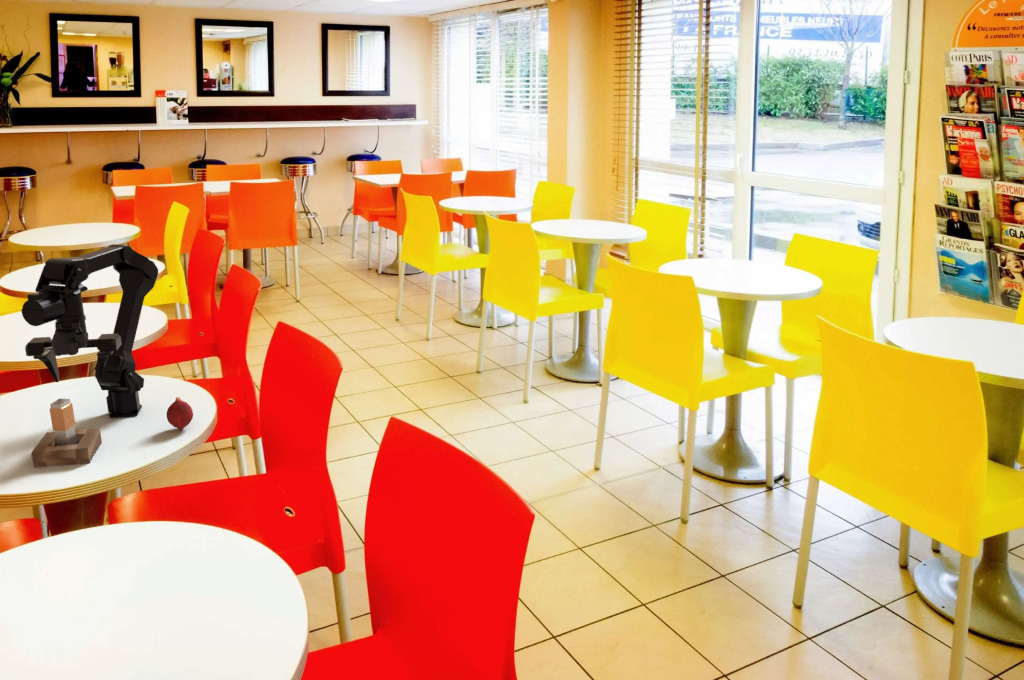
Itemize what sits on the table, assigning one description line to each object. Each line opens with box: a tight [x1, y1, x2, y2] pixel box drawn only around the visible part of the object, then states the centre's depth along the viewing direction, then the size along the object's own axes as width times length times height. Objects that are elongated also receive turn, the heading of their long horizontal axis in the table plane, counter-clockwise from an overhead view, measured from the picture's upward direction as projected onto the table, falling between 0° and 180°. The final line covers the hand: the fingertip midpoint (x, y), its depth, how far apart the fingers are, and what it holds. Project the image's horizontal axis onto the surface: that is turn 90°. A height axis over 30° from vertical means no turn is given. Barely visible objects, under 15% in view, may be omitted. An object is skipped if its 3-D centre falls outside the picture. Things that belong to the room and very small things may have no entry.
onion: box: [166, 396, 194, 430], centre depth 199 cm, size 6×6×8 cm
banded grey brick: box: [49, 398, 77, 446], centre depth 185 cm, size 4×3×12 cm
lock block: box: [30, 427, 103, 469], centre depth 186 cm, size 11×11×4 cm
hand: (79, 380), depth 194 cm, fingers open, 9 cm apart
